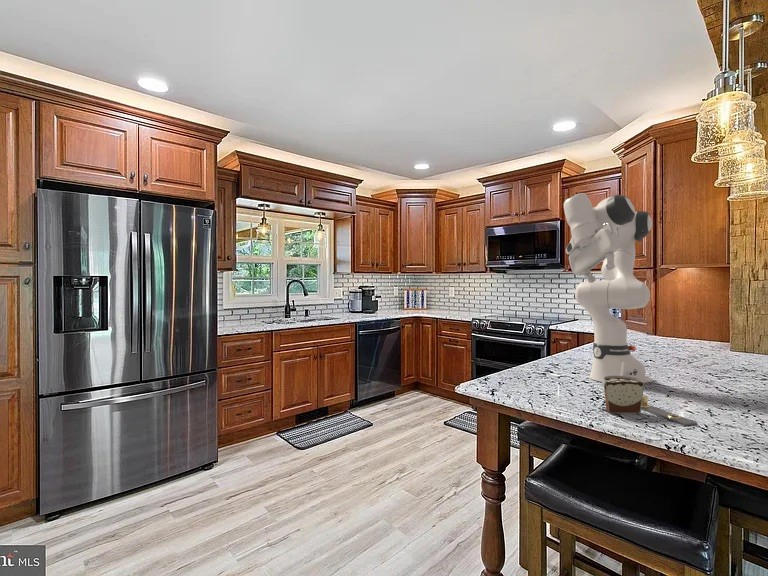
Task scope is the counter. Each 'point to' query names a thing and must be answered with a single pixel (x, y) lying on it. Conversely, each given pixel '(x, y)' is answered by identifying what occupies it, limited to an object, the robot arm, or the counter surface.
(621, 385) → the food container
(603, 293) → the robot arm
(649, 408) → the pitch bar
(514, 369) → the counter surface
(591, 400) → the counter surface
